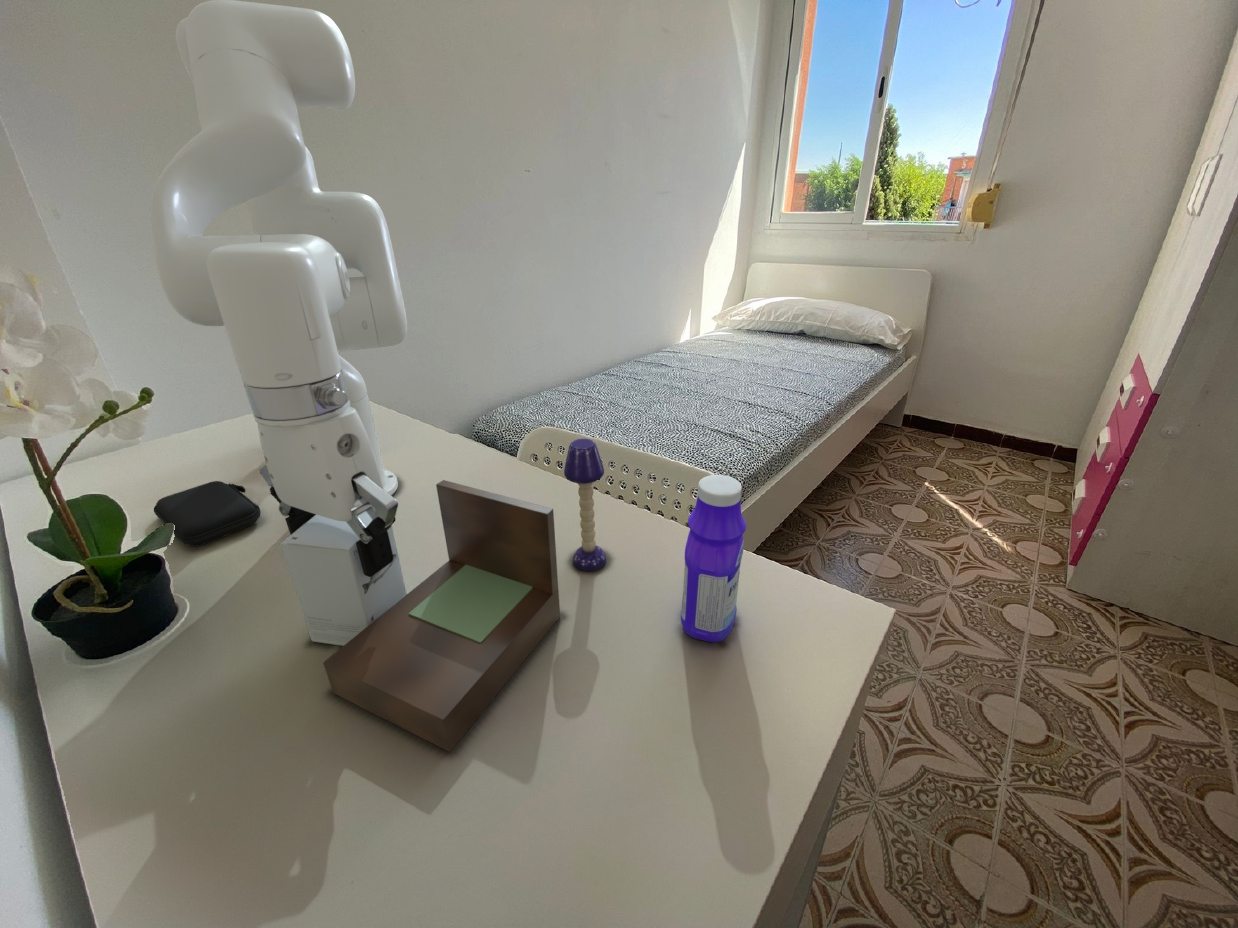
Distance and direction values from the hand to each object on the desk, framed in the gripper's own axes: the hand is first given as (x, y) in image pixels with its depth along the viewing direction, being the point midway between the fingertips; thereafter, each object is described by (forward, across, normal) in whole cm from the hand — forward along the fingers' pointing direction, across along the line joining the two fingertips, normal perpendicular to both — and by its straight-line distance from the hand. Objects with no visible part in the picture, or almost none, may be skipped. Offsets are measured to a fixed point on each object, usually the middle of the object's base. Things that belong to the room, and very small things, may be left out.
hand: (344, 555), depth 55 cm
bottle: (+9, -34, -16) cm, 39 cm away
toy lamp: (+9, -17, -20) cm, 28 cm away
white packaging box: (+9, 0, 0) cm, 9 cm away
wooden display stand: (+9, -12, -1) cm, 15 cm away
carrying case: (+9, +36, -6) cm, 38 cm away
